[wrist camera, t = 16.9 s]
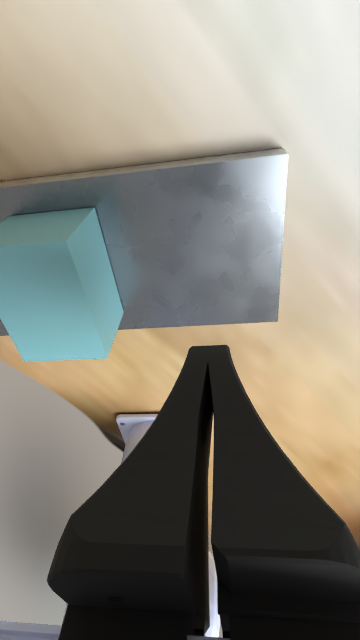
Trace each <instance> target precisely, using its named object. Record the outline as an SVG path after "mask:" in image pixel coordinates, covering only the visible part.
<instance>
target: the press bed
mask: <svg viewBox="0 0 360 640" xmlns="http://www.w3.org/2000/svg"><path fill="white" fill-rule="evenodd" d="M287 168H288V153H287V152H286V151H285V150H284V149H283V148H279V149H270V150H262V151H254V152H245V153H237V154H229V155H220V156H212V157H203V158H195V159H187V160H178V161H170V162H162V163H153V164H145V165H137V166H128V167H120V168H112V169H103V170H95V171H87V172H78V173H70V174H61V175H53V176H45V177H36V178H28V179H20V180H11V181H3V182H0V223H1V222H2V221H3V220H5V219H6V218H7V217H9V216H15V215H25V214H34V213H44V212H54V211H63V210H73V209H82V208H92V207H95V210H96V214H97V217H98V221H99V225H100V228H101V232H102V236H103V239H104V243H105V246H106V250H107V254H108V257H109V261H110V264H111V268H112V272H113V275H114V279H115V283H116V286H117V290H118V293H119V297H120V301H121V304H122V308H123V312H124V313H123V316H122V319H121V321H120V324H119V327H118V330H122V329H141V328H161V327H180V326H200V325H219V324H239V323H258V322H278V308H279V292H280V277H281V261H282V245H283V230H284V214H285V199H286V183H287ZM5 335H9V333H8V332H7V330H6V328H5V326H4V324H3V323H2V321H1V319H0V336H5Z"/></svg>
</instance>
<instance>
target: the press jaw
mask: <svg viewBox="0 0 360 640" xmlns="http://www.w3.org/2000/svg"><path fill="white" fill-rule="evenodd" d="M123 313H124V312H123V308H122V304H121V301H120V297H119V293H118V290H117V286H116V283H115V279H114V275H113V272H112V268H111V264H110V261H109V257H108V254H107V250H106V246H105V243H104V239H103V236H102V232H101V228H100V225H99V221H98V217H97V214H96V210H95V207H92V208H82V209H73V210H63V211H54V212H44V213H34V214H25V215H15V216H9V217H7V218H6V219H5V220H3V221H2V222H1V223H0V319H1V321H2V323H3V324H4V326H5V328H6V330H7V332H8V333H9V335H10V337H11V339H12V341H13V342H14V344H15V346H16V348H17V350H18V351H19V353H20V355H21V357H22V359H23V360H24V362H29V361H54V360H79V359H105V358H107V357H108V355H109V352H110V349H111V346H112V344H113V341H114V338H115V335H116V333H117V330H118V327H119V324H120V321H121V319H122V316H123Z"/></svg>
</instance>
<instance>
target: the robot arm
mask: <svg viewBox="0 0 360 640" xmlns="http://www.w3.org/2000/svg"><path fill="white" fill-rule="evenodd" d="M213 414H214V462H213V501H212V530H211V544H212V550H213V556H214V558H213V556H212V554H211V552H210V551H208V468H209V456H210V444H211V432H212V419H213ZM116 422H117V424H118V427H119V429H120V432H121V435H122V437H123V440H124V442H125V450H124V454H123V459H122V463H121V465H120V466H119V467H118V468H117V469H116V470H115V471H114V473H113V474H112V475H111V476H110V477H109V478H108V479H107V481H105V483H104V484H103V485H102V486H101V487H100V488H99V489H98V490H97V491H96V492H95V493H94V494H93V495H92V496H91V497H90V498H89V499H88V500H87V501H86V502H85V503H84V504H83V505H81V507H79V509H78V510H76V511H75V512H74V513H73V514H72V515H71V517H70V519H69V521H68V523H67V525H66V527H65V529H64V532H63V534H62V536H61V539H60V541H59V543H58V546H57V549H56V552H55V555H54V559H53V561H52V565H51V568H50V571H49V574H48V579H47V582H48V585H49V586H50V587H51V589H52V590H53V591H54V592H55V593H56V594H57V595H58V596H60V597H61V598H62V599H63V600H64V601H65V602H66V603H67V604H66V608H65V614H64V618H63V624H62V626H59V625H46V624H32V623H18V622H6V621H0V640H360V549H359V547H358V545H357V543H356V541H355V540H354V538H353V536H352V534H351V532H350V530H349V529H348V527H347V525H346V523H345V522H344V521H343V520H342V519H341V518H340V517H339V516H338V515H337V513H336V512H335V511H334V510H333V509H332V508H331V507H330V506H329V505H328V504H327V503H326V502H325V501H324V500H323V499H322V497H321V496H320V495H319V494H318V493H317V492H316V491H315V490H314V489H313V487H312V486H311V485H310V484H309V483H308V482H307V480H306V479H305V478H304V477H303V476H302V475H301V473H300V472H299V471H298V470H297V468H296V467H295V466H294V465H293V463H292V462H291V461H290V459H289V458H288V457H287V456H286V454H285V453H284V452H283V451H282V449H281V448H280V447H279V445H278V444H277V442H276V441H275V439H274V438H273V437H272V435H271V434H270V432H269V431H268V429H267V428H266V426H265V425H264V423H263V422H262V420H261V418H260V417H259V415H258V413H257V412H256V410H255V408H254V406H253V405H252V403H251V401H250V399H249V397H248V395H247V394H246V392H245V389H244V387H243V385H242V383H241V381H240V379H239V377H238V374H237V372H236V369H235V367H234V364H233V361H232V358H231V354H230V349H229V347H228V346H227V345H213V346H192V347H191V348H190V349H189V351H188V355H187V358H186V360H185V363H184V365H183V368H182V370H181V372H180V375H179V377H178V379H177V381H176V383H175V385H174V387H173V389H172V391H171V393H170V395H169V396H168V398H167V400H166V402H165V403H164V405H163V407H162V409H161V410H160V412H159V414H121V415H118V416H117V418H116ZM220 620H221V626H222V631H223V638H219V628H220Z"/></svg>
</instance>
